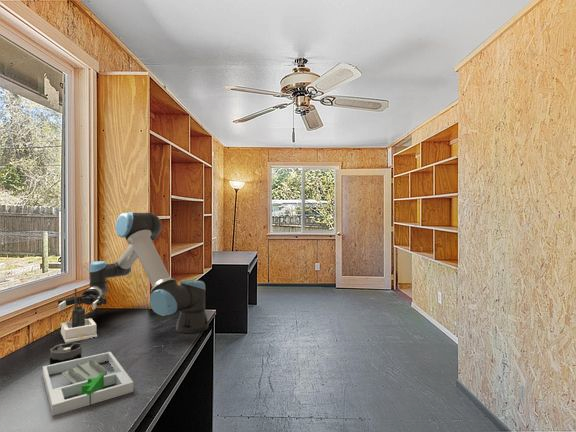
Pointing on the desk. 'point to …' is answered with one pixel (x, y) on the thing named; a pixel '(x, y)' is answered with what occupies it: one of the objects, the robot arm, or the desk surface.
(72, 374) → the metal bracket
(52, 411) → the desk organiser
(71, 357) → the cpu cooler
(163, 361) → the desk surface
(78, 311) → the walkie-talkie
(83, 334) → the charging cradle
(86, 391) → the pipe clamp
